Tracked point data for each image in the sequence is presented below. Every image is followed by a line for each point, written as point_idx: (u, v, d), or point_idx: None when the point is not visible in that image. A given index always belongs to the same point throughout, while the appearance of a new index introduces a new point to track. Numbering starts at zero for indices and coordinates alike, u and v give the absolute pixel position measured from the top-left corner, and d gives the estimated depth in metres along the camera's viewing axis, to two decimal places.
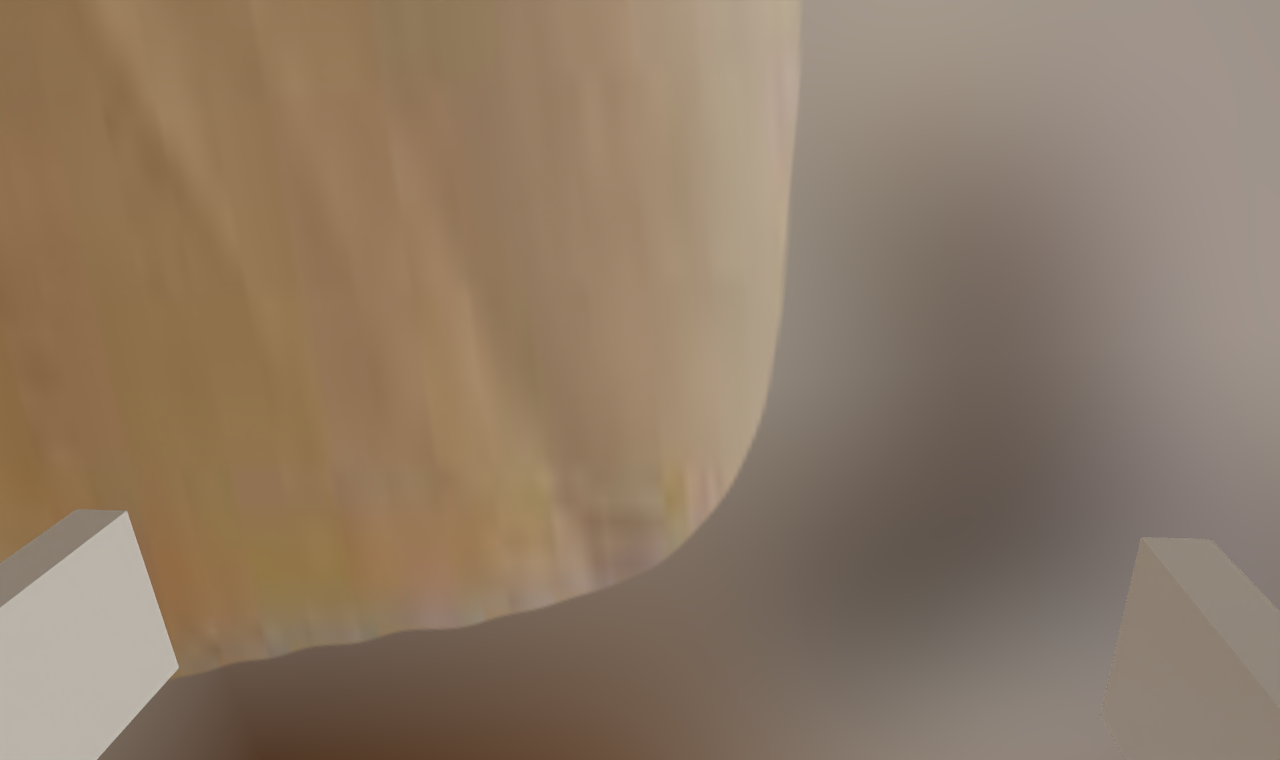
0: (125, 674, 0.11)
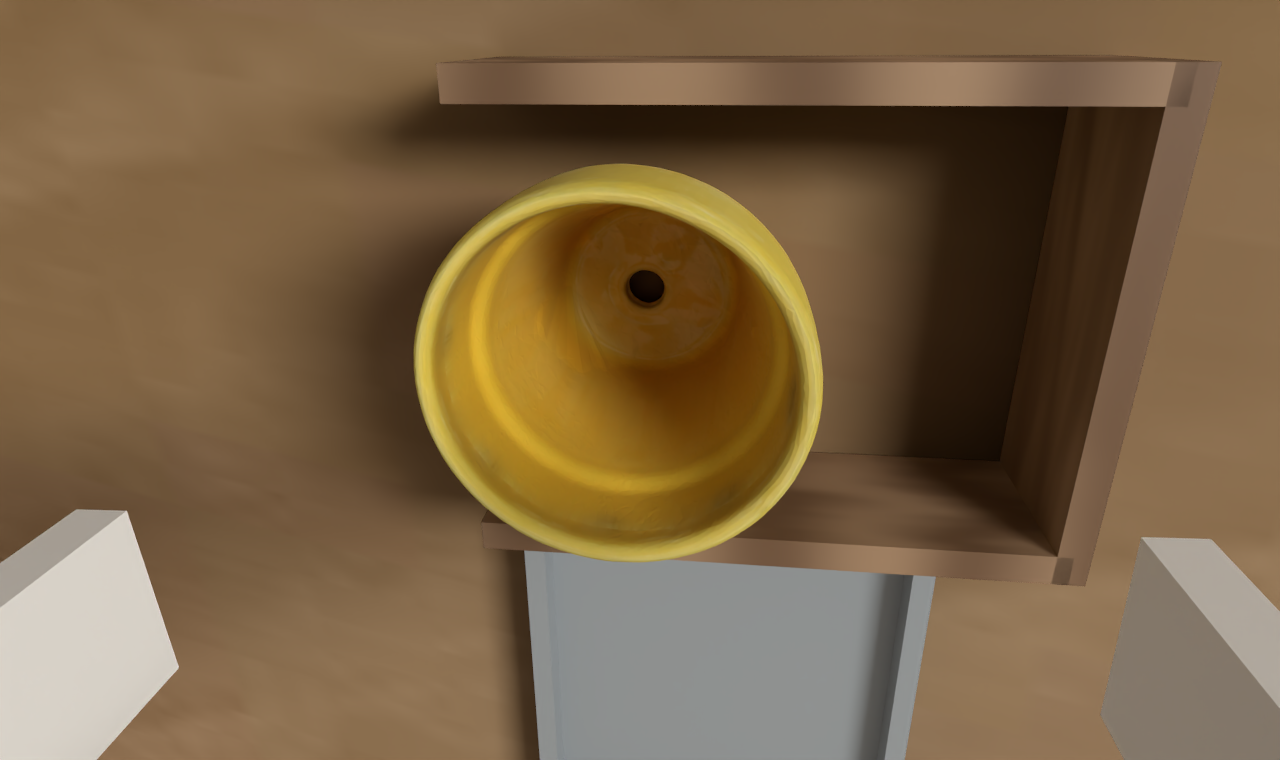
0: (125, 674, 0.11)
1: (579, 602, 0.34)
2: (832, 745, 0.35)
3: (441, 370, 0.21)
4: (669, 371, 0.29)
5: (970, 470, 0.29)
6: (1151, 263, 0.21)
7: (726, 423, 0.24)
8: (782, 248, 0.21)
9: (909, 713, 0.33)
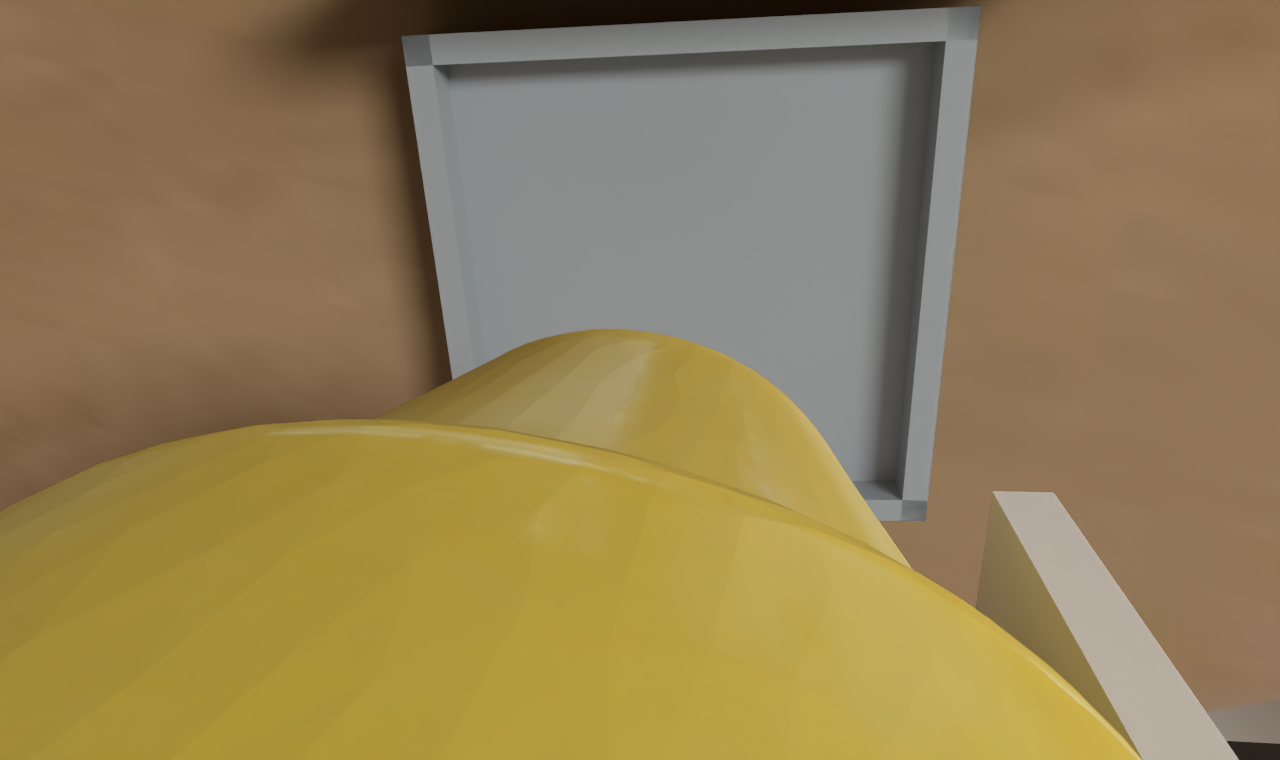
0: None
1: (495, 189, 0.25)
2: (843, 388, 0.27)
3: None
4: None
5: None
6: None
7: None
8: None
9: (945, 301, 0.24)
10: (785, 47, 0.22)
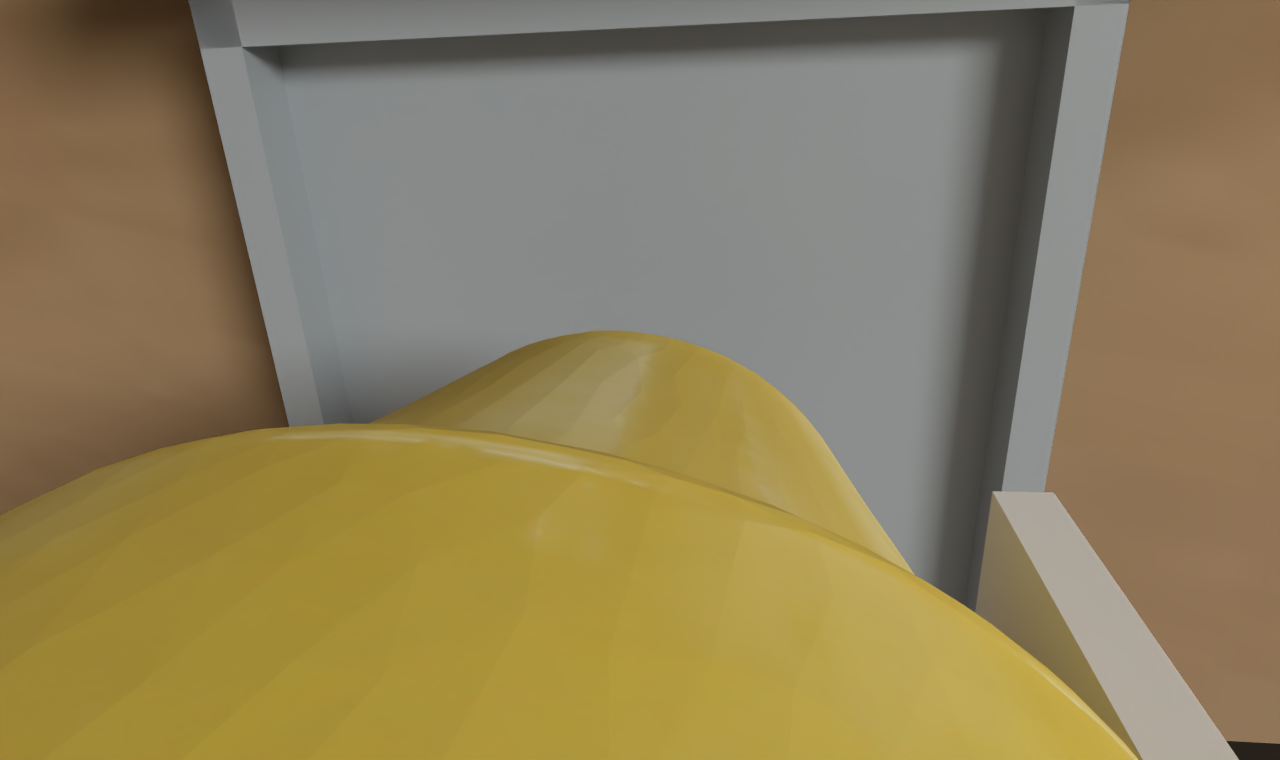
0: None
1: (363, 237, 0.17)
2: (884, 528, 0.18)
3: None
4: None
5: None
6: None
7: None
8: None
9: (1050, 417, 0.15)
10: (805, 17, 0.13)
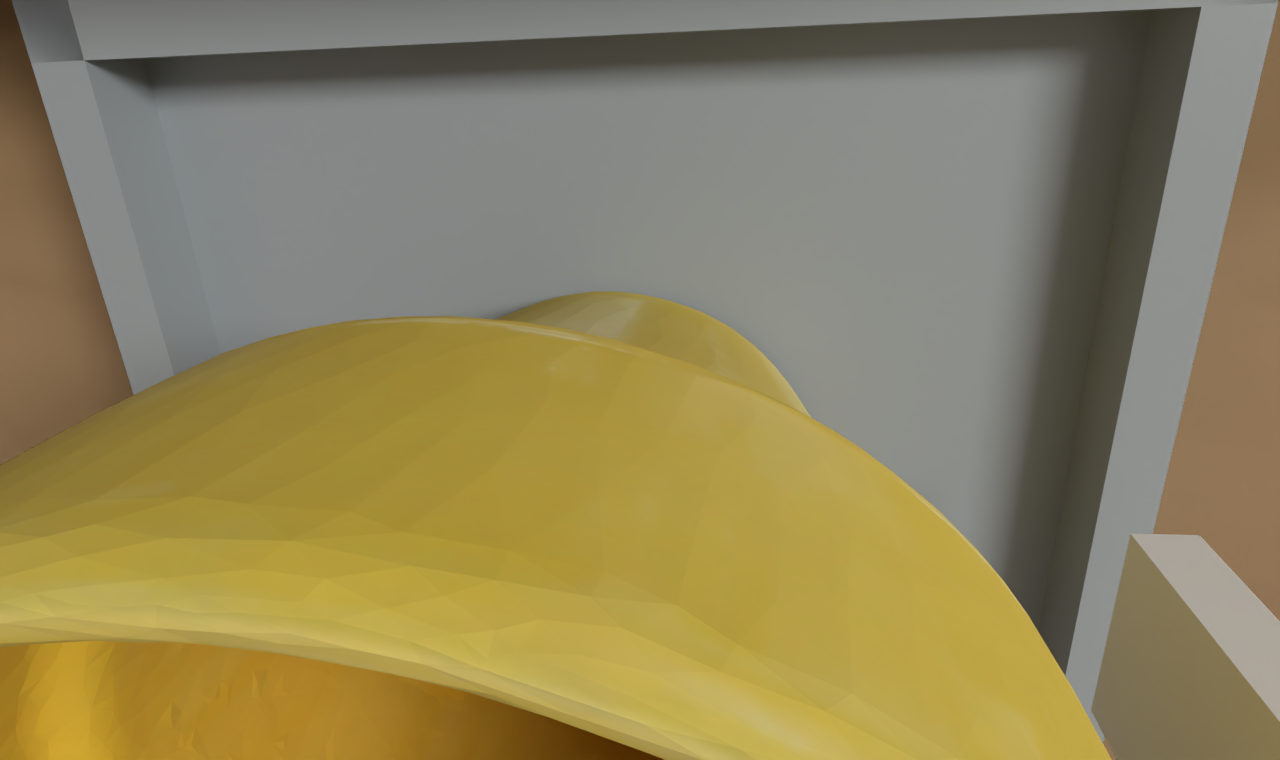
0: None
1: (265, 298, 0.13)
2: None
3: None
4: None
5: None
6: None
7: None
8: (1010, 591, 0.06)
9: None
10: (830, 21, 0.10)
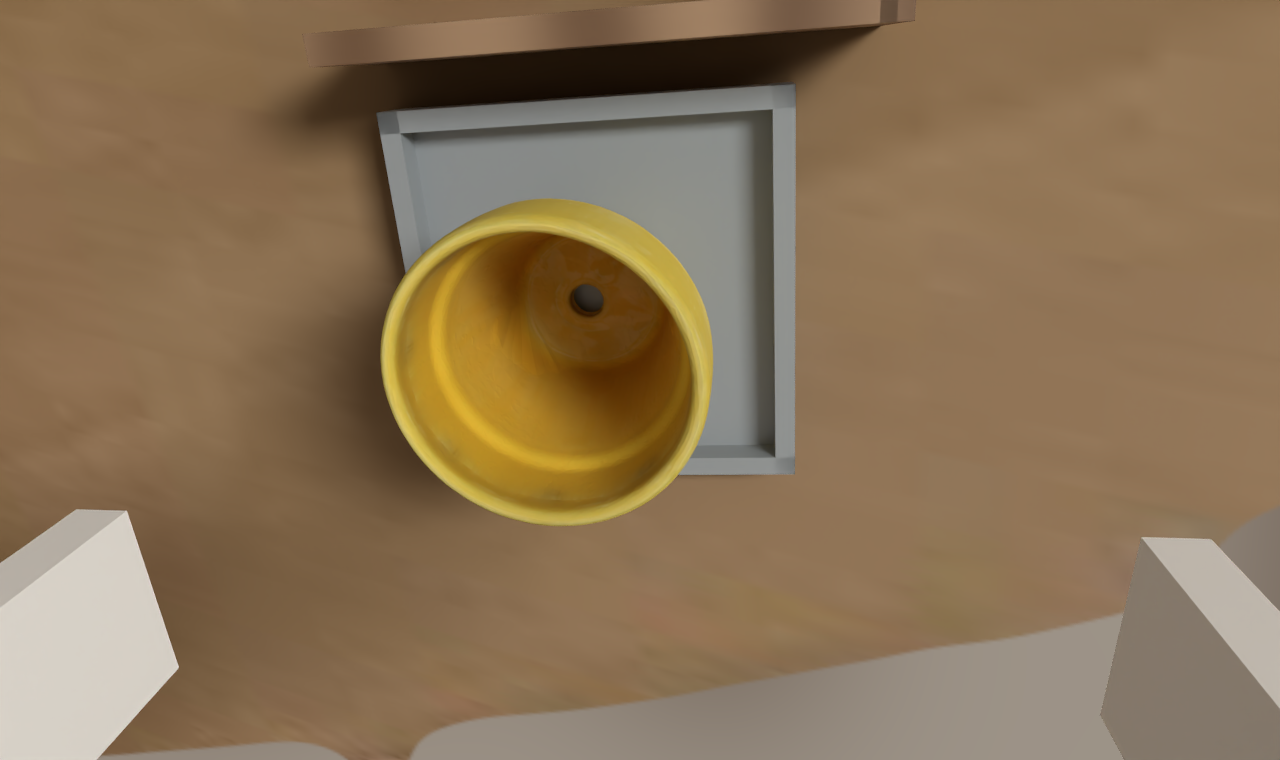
0: (125, 674, 0.11)
1: (452, 223, 0.33)
2: (727, 371, 0.34)
3: (405, 375, 0.26)
4: (613, 370, 0.33)
5: None
6: None
7: (652, 408, 0.29)
8: (676, 259, 0.26)
9: (792, 300, 0.31)
10: (657, 116, 0.29)
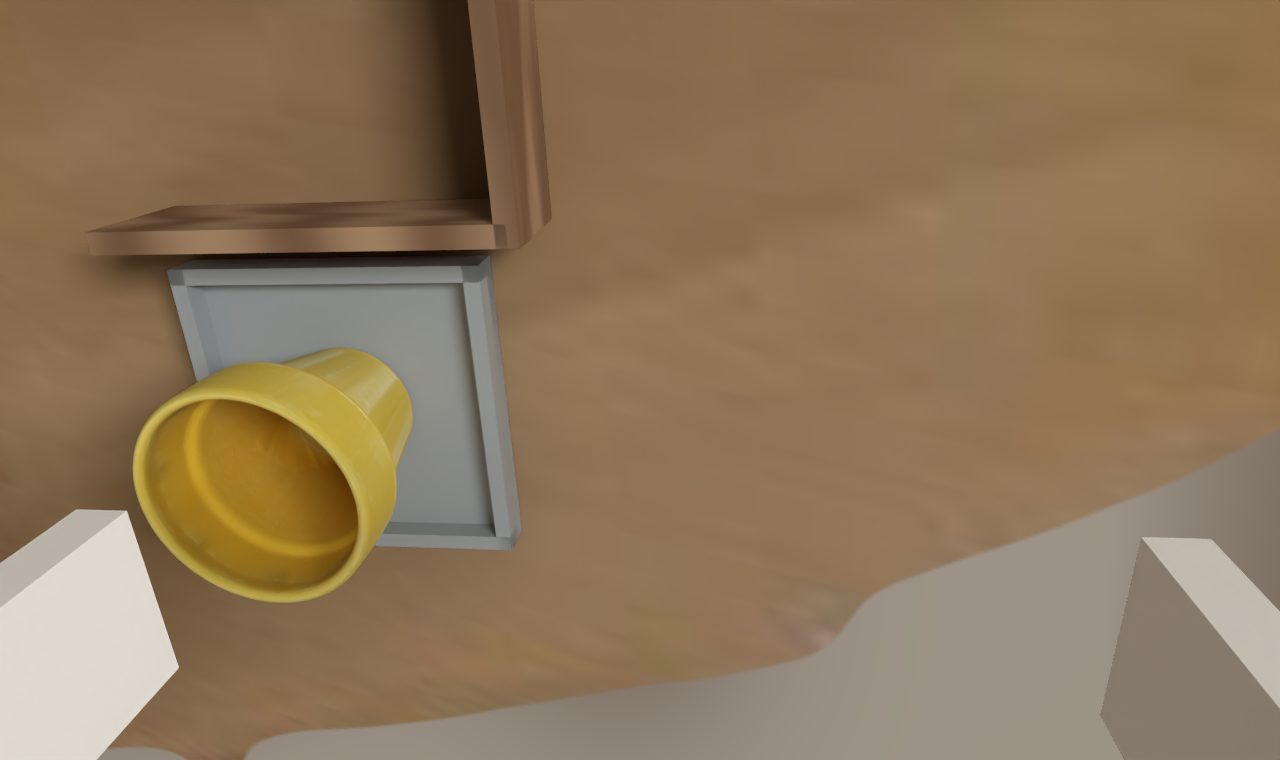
0: (125, 674, 0.11)
1: (237, 348, 0.42)
2: (459, 467, 0.43)
3: (158, 489, 0.35)
4: None
5: None
6: None
7: None
8: (359, 409, 0.34)
9: (494, 421, 0.40)
10: (377, 283, 0.38)
